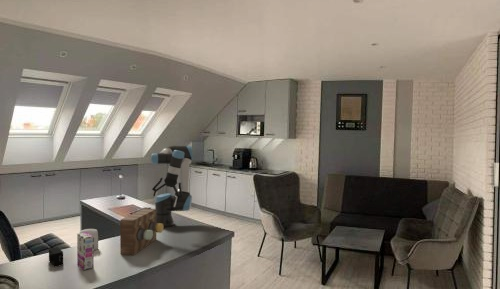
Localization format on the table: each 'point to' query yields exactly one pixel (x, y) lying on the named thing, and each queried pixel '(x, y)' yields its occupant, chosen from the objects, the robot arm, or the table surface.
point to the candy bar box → (85, 250)
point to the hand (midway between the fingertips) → (164, 204)
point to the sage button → (148, 234)
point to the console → (136, 231)
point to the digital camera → (55, 256)
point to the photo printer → (93, 233)
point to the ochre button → (159, 227)
